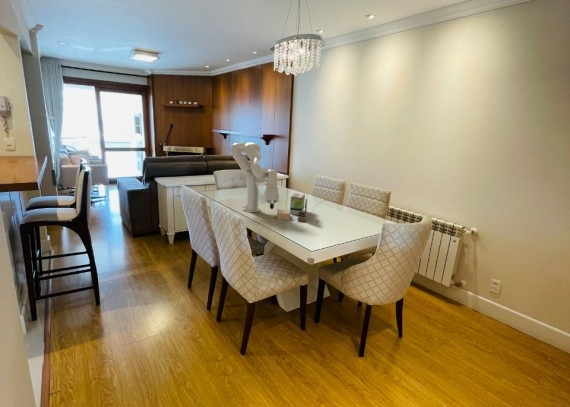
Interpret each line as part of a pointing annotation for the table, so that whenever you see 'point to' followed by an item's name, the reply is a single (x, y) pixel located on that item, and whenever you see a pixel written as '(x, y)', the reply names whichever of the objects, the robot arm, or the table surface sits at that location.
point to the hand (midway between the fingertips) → (271, 208)
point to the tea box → (297, 203)
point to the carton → (283, 214)
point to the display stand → (303, 214)
